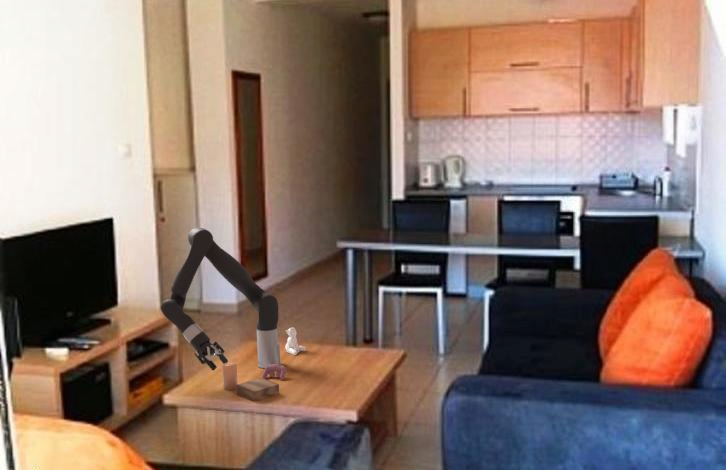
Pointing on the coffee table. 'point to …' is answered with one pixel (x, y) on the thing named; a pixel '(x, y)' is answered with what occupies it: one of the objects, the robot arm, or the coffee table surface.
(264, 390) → the walnut block
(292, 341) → the seated beast figurine
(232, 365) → the peach orange capsule
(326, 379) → the coffee table surface
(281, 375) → the pink gamepad
